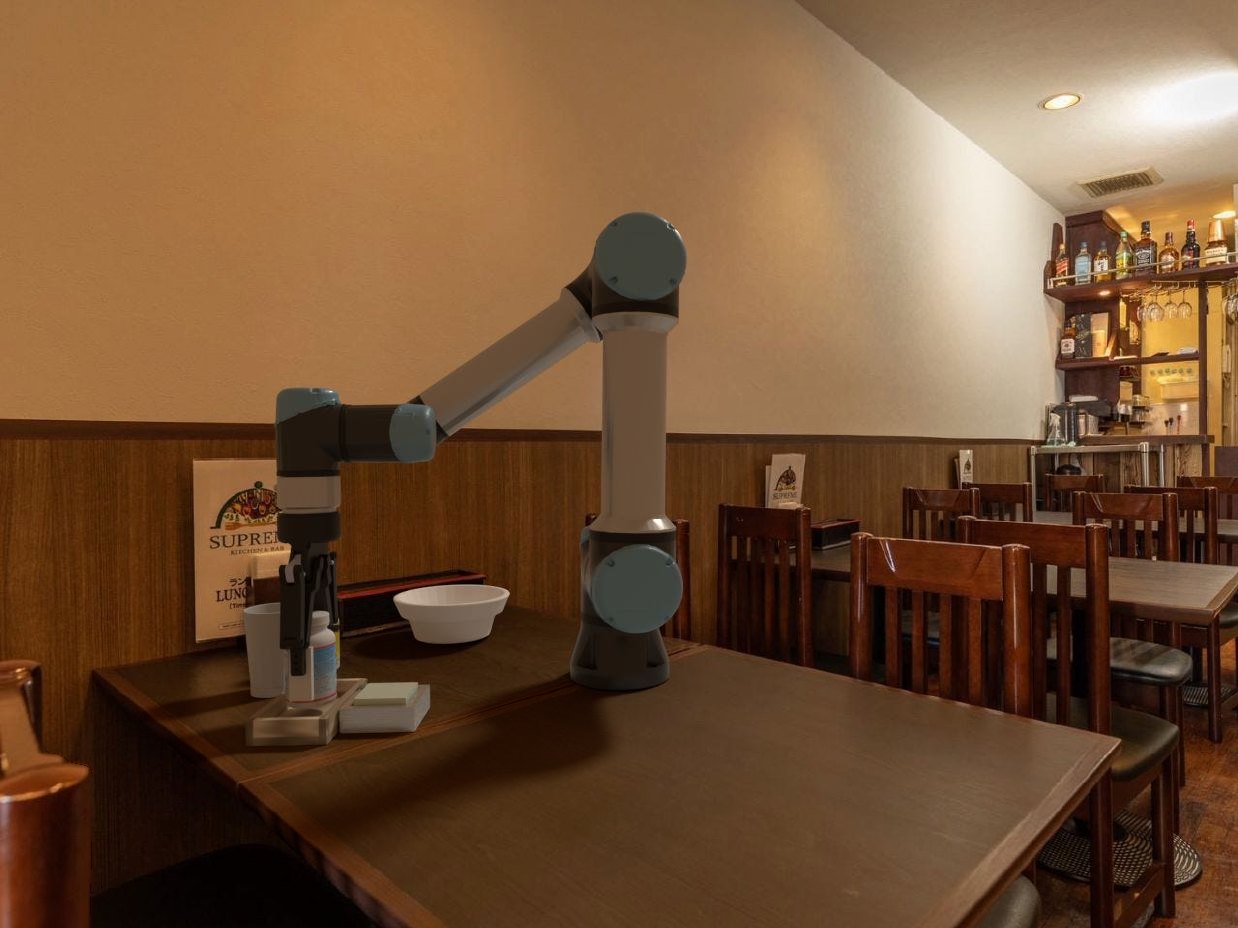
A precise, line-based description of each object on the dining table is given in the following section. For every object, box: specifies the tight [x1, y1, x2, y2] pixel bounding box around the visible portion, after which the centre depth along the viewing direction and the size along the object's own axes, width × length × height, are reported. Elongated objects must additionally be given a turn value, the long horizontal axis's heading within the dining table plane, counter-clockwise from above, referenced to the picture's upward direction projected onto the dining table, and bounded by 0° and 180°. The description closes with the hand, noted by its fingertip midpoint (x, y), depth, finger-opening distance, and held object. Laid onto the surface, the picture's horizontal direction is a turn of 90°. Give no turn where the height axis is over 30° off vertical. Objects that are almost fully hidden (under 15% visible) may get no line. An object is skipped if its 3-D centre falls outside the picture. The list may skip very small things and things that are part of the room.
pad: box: [354, 681, 419, 706], centre depth 96 cm, size 6×6×1 cm
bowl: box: [392, 584, 511, 645], centre depth 139 cm, size 21×21×8 cm
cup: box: [242, 602, 285, 699], centre depth 108 cm, size 8×8×12 cm
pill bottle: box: [284, 611, 338, 709], centre depth 95 cm, size 6×6×11 cm
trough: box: [244, 677, 368, 747], centre depth 95 cm, size 9×16×3 cm, turn 2°
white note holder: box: [339, 682, 431, 734], centre depth 96 cm, size 9×9×3 cm
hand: (312, 691), depth 95 cm, fingers closed on pill bottle, 6 cm apart
